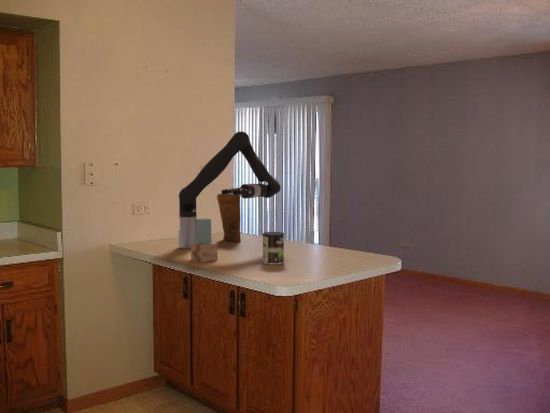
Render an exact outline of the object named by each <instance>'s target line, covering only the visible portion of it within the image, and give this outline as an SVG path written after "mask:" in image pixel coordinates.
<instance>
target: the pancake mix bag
mask: <svg viewBox="0 0 550 413" xmlns="http://www.w3.org/2000/svg"><path fill="white" fill-rule="evenodd" d="M216 200H217V203H218V209H219V214H220V219H221V225H222V230H223V239H222V241H227V242H232V243H241V242H242V241H241V196H240V195H231V194H222V193H218V194H217V195H216Z"/></svg>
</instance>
